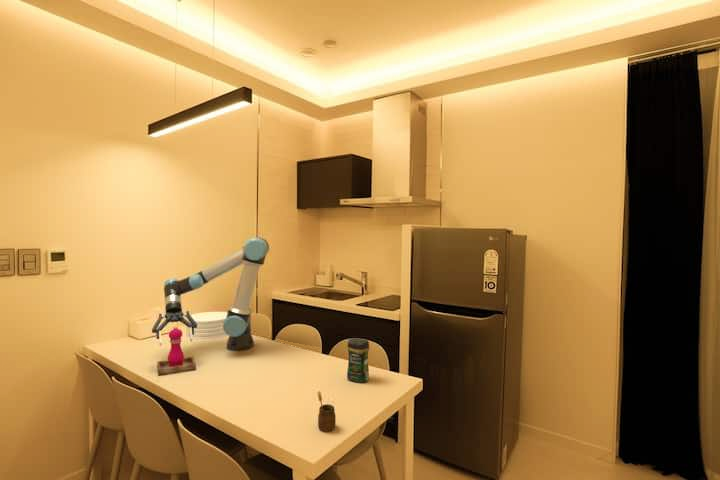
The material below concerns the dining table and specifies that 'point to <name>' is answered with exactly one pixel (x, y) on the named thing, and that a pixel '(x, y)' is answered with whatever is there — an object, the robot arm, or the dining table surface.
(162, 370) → the tray
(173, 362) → the pepper mill
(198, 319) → the plate stack
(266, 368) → the dining table surface
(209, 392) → the dining table surface
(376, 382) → the dining table surface
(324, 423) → the utensil holder
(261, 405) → the dining table surface
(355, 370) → the coffee jar
